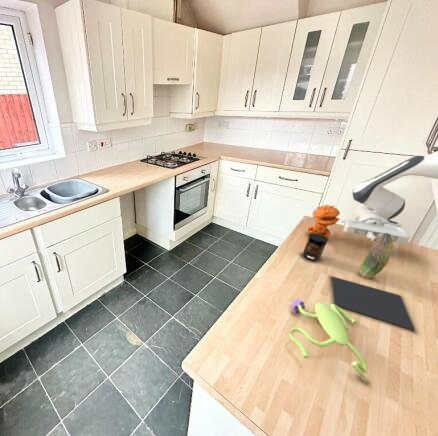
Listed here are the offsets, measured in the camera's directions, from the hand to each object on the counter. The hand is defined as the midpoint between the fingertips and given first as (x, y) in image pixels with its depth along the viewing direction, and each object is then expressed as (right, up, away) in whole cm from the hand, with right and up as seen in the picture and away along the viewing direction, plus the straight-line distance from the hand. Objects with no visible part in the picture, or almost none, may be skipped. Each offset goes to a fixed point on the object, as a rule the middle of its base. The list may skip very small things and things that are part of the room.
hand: (377, 240), depth 95 cm
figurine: (-37, -27, -22) cm, 51 cm away
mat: (-13, -20, -10) cm, 26 cm away
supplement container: (-18, -9, +12) cm, 23 cm away
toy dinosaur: (-5, -1, +26) cm, 26 cm away
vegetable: (-4, -15, 0) cm, 15 cm away
